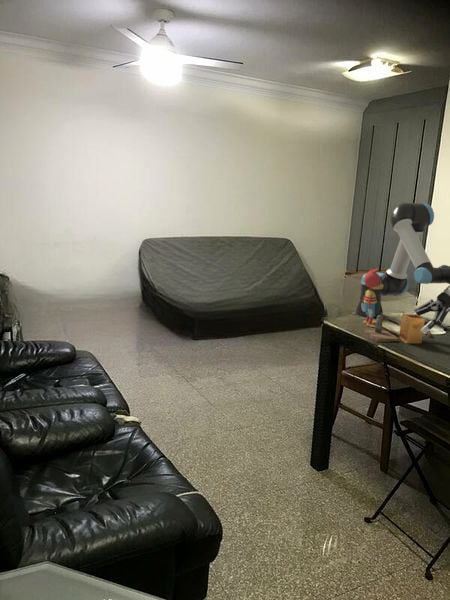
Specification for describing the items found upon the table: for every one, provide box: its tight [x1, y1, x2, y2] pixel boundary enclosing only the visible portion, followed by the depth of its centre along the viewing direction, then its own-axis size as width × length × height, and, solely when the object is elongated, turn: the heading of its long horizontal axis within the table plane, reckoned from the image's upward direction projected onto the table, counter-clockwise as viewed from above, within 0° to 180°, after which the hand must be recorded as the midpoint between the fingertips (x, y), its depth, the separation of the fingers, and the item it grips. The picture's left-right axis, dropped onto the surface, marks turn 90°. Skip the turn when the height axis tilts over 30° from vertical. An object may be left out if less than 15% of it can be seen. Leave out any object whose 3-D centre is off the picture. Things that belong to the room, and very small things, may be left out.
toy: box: [361, 268, 384, 329], centre depth 250 cm, size 15×10×30 cm
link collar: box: [398, 313, 426, 344], centre depth 228 cm, size 7×7×12 cm
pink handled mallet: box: [424, 320, 433, 338], centre depth 245 cm, size 8×18×8 cm
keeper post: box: [362, 315, 400, 343], centre depth 233 cm, size 16×11×10 cm
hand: (414, 328), depth 227 cm, fingers open, 13 cm apart
